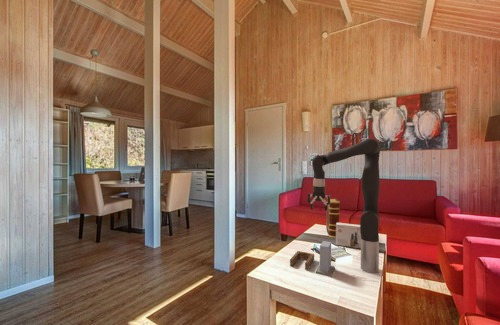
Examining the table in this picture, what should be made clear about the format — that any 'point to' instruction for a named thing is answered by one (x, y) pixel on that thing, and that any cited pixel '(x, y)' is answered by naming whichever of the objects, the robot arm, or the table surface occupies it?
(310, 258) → the frame
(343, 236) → the skincare box
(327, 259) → the block
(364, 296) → the table surface
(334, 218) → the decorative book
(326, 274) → the pad
